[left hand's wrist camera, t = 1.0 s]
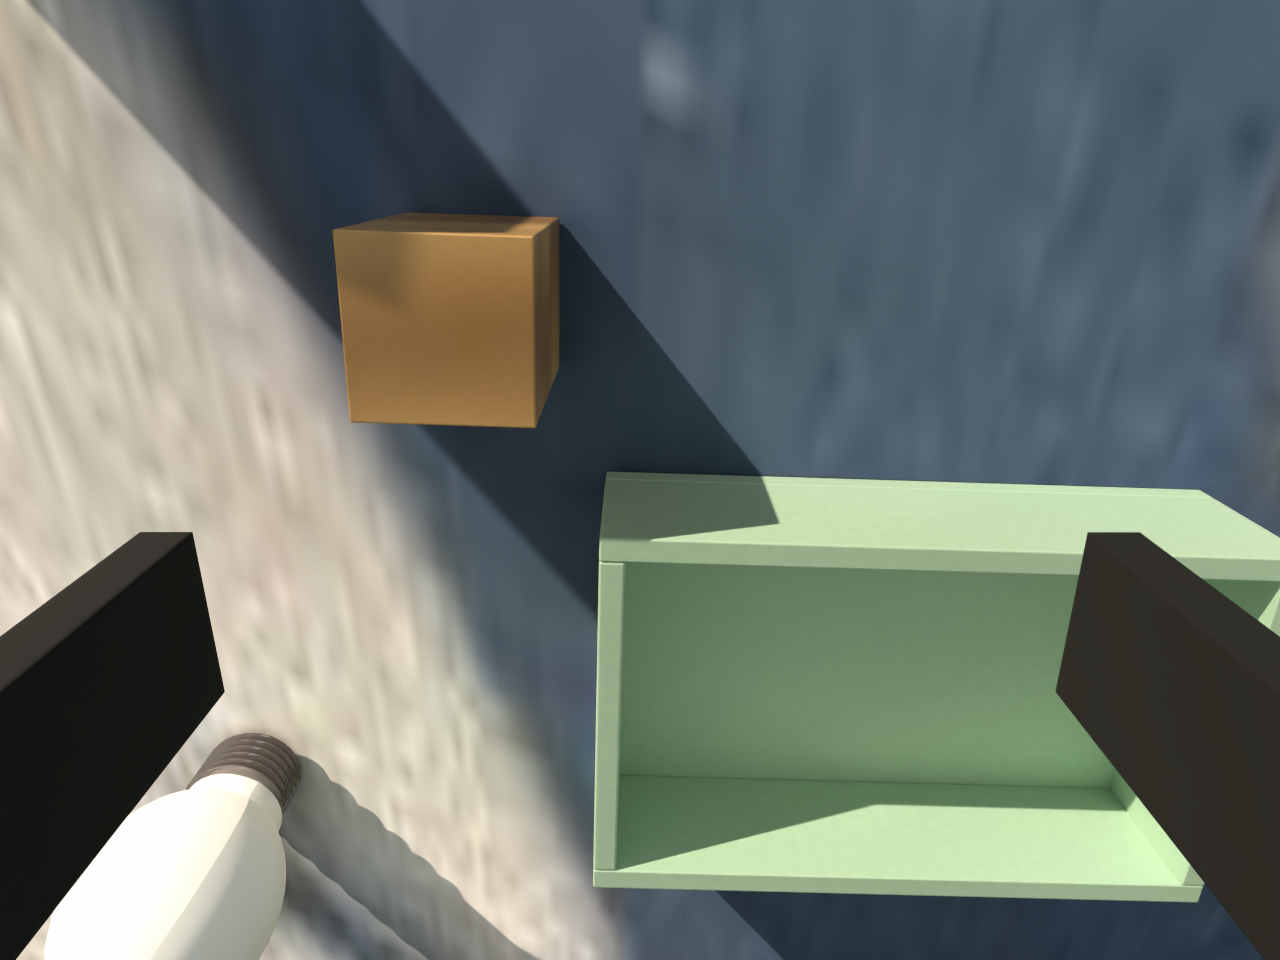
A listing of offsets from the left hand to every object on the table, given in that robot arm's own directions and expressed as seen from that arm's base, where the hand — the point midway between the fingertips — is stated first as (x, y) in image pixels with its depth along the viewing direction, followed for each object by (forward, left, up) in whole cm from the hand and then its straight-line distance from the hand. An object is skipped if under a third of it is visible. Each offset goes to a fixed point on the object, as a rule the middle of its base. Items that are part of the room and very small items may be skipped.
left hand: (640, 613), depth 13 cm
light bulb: (+18, -15, -18) cm, 30 cm away
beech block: (-2, -5, -18) cm, 19 cm away
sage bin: (+11, +10, -18) cm, 23 cm away
